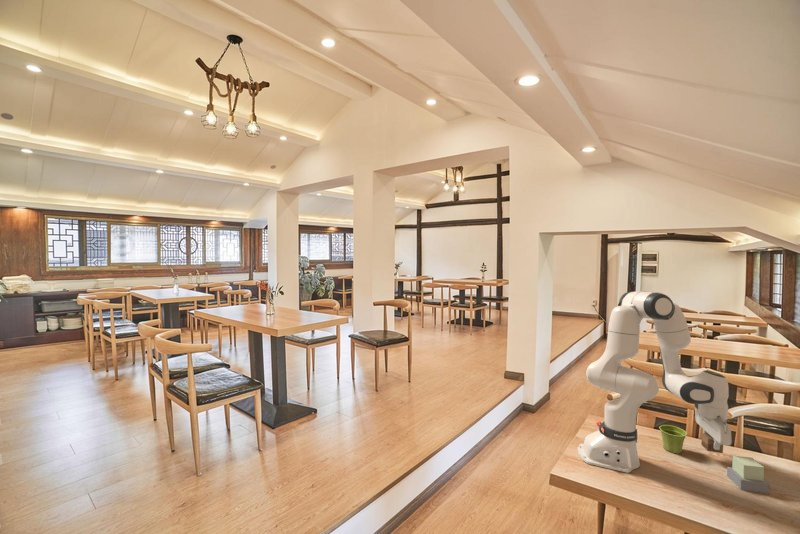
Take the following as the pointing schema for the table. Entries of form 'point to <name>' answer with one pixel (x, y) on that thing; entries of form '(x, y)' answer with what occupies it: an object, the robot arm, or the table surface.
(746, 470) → the tower cube
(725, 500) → the table surface
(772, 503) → the table surface
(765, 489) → the base slab
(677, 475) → the table surface
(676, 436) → the plant pot
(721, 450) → the walnut cube
